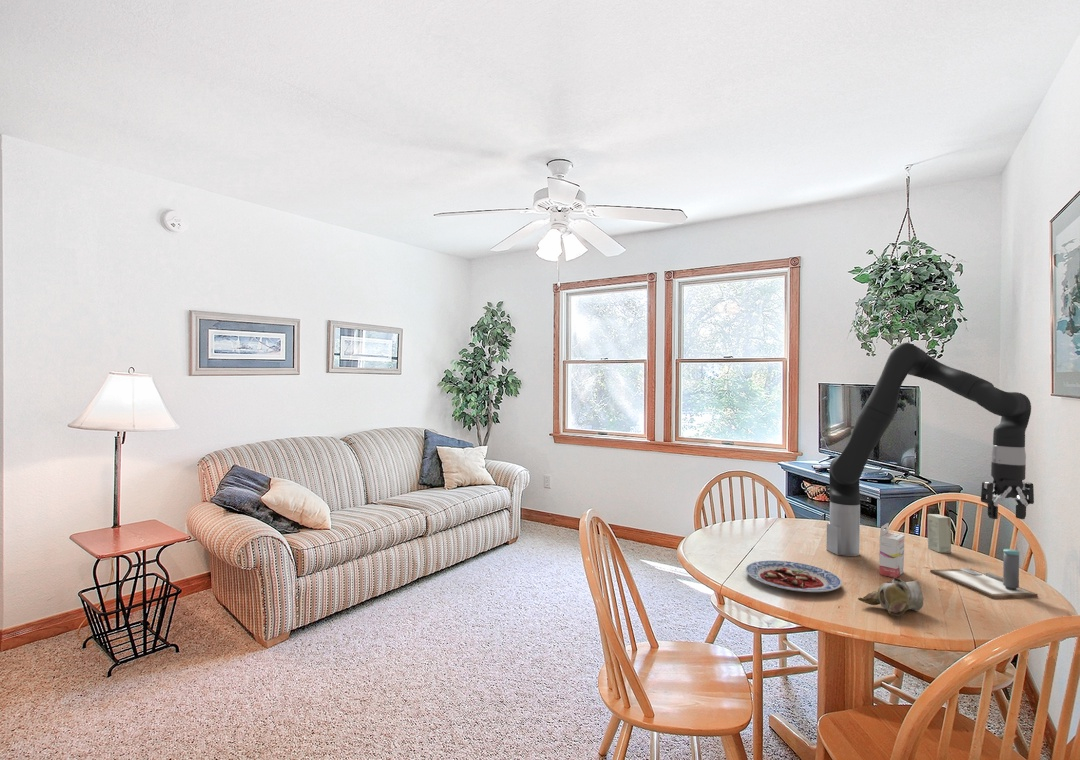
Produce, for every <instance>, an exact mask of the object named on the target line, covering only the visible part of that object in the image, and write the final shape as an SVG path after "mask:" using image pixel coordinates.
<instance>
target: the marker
mask: <svg viewBox="0 0 1080 760" xmlns="http://www.w3.org/2000/svg"><path fill="white" fill-rule="evenodd" d="M1002 552H1003V557H1002V558H1003V563H1002V564H1003V565H1002V566H1003V567H1002V569H1003V571H1002V572H1003V573H1002V574H1003V575H1002V578H1003V585H1004V586H1005V588H1006V589H1009V590H1016V588H1019V587H1020V551H1019V550H1016V549H1012V548H1003V551H1002Z"/></svg>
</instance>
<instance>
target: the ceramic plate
mask: <svg viewBox="0 0 1080 760" xmlns="http://www.w3.org/2000/svg"><path fill="white" fill-rule="evenodd" d="M745 572H746V574H747V575H748V576H749V577H751V578H752V579H754V580H755V581H758V582H760V583H762V584H765V585H767V586H772V587H774V588H778V589H781V590H786V591H789V592H799V593H824V592H827V593H828V592H831V591H835V590H838V589H840V588H841V587H842V585H843V582H842V581H843V580H842V579H841V578H840V577H839V576H838V575H836V574H834V573H833V572H831V571H829V570H826V569H825V568H824V569H823V568H821V567H819V566H815V565H810V564H806V563H800V562H795V561H787V560H786V561H785V560H762V561H761V560H759V561H755V562H752V563H750V564H748V565H746V567H745Z"/></svg>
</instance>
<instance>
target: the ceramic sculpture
mask: <svg viewBox="0 0 1080 760" xmlns="http://www.w3.org/2000/svg"><path fill="white" fill-rule="evenodd" d="M920 585H921V584H920V582H919V580H917V579H916V580H913V581H904V580H902V579H900V578H899V577H897V578H893V579H892V580H891V581H890V582H888V581H887V582H883V583H882V584H880V585H879V587H878V588H877V591H872V592H868V593H867V594H866V595H865V596H863V597H858V598H857V600H858V601H860V602H862V603H865V604H868V605H871V606H878V605H880V606H881V607H882V608H883V609H885V610H886V611H887V612H888V614H889V615H891V616H895V617H901V616H902V615H904V614H905V613H906V611H907V610H910V611H915V612H918V611H920V610H922V608H923V607H924V601H925V600H924V597H923V591H922V588H921V586H920Z"/></svg>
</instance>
